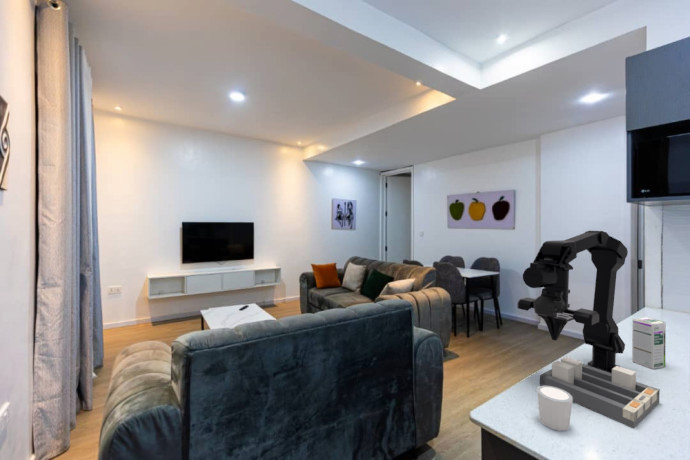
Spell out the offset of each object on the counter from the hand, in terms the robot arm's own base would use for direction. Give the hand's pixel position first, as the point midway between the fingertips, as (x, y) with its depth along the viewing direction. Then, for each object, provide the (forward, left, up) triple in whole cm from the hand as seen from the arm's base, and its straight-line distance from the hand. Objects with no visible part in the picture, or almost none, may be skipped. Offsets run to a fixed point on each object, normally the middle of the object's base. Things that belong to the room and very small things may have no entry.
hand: (554, 339), depth 88 cm
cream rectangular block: (+2, +3, -11) cm, 11 cm away
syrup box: (-38, +11, -13) cm, 42 cm away
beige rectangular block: (-3, +3, -11) cm, 12 cm away
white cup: (+19, +9, -13) cm, 24 cm away
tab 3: (-8, +13, -11) cm, 19 cm away
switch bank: (-3, +9, -13) cm, 16 cm away
